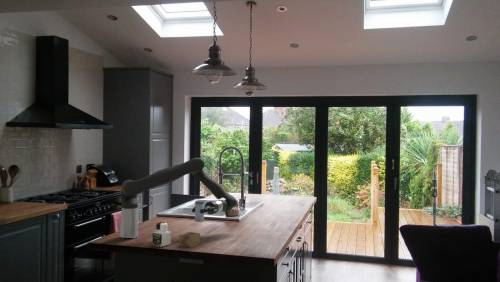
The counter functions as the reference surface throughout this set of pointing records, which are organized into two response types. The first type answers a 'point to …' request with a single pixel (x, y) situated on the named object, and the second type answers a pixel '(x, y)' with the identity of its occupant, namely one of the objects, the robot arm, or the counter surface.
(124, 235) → the robot arm
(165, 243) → the medicine bottle
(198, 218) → the spice jar
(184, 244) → the walnut block
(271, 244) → the counter surface
